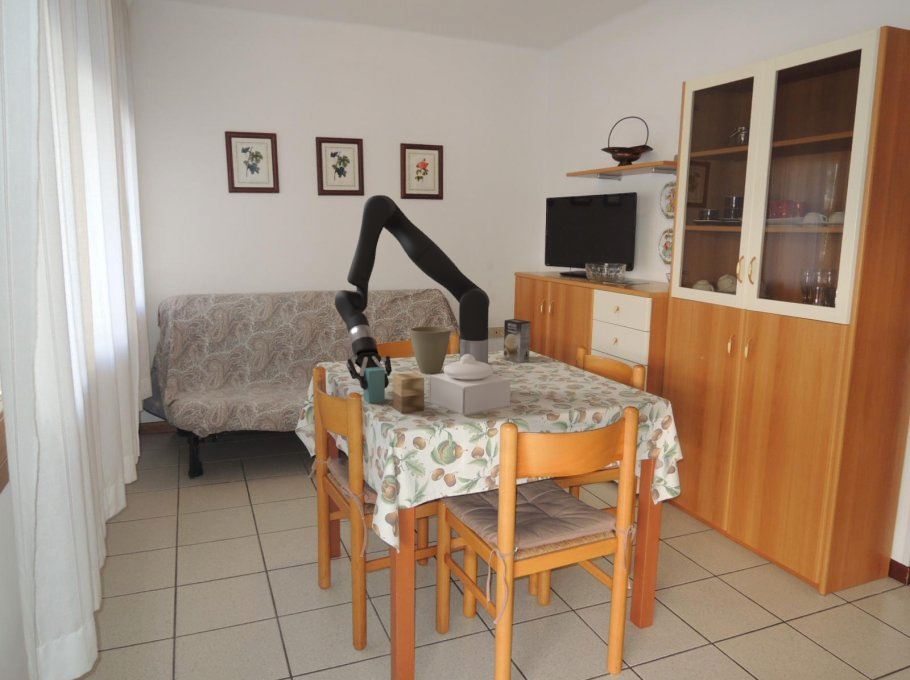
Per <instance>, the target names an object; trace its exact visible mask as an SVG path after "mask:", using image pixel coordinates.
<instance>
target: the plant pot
mask: <svg viewBox="0 0 910 680" xmlns="http://www.w3.org/2000/svg"><path fill="white" fill-rule="evenodd" d="M451 330H452V329H451V328H450V327H447V326H446V327H445V326H438V325H437V326H436V325H434V326H433V325H431V326H429V325H427V326H426V325H425V326H424V325H423V326H422V325H421V326H415V327H410V328H409V333H410V340H411V341H410V342H411V346H412V350H413V354H414V357H415V361H416V364H417V367H418V369H419V372H420V373H422V374H427V375H435V374H440V373H441V372H442V368H443V366H444V364H445V360H446V357H447V353H448V348H449V344H450V340H451V339H450V338H451V332H452V331H451Z"/></svg>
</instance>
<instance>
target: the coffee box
mask: <svg viewBox="0 0 910 680" xmlns="http://www.w3.org/2000/svg"><path fill="white" fill-rule="evenodd" d="M531 323H532V322H531V321H529V320H524V319H518V318H512V319H511V318H510V319H506V320H505V319H504V324H503V325H504V327H503V328H504V329H503V356H502V357H503V359H502V360H504V361H505V360H506V361H508V362H509V361H510V362H513V363H520V364H521V363H527V362H529V361H530V352H531V351H530V350H531V349H530V347H531V329H532V328H531Z"/></svg>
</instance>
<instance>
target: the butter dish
mask: <svg viewBox="0 0 910 680" xmlns="http://www.w3.org/2000/svg"><path fill="white" fill-rule="evenodd" d="M511 382H512V378H509V377H506V376H503V375H499V374H496V373H494V368H493V367H492V366H491V365H490V364H489V365H488V364H486V363H483V362H479V361H476V360H475V358H474V356H473V355H470V354H464V355H463V356H462V357H461V359H460V358H459V360H458V361H453V362H450V363H448V364H446V365H445V366H444V367H443V373H436V374H429V376H428V403H430V404H432V405H435V406H437V407H439V408H442V409H444V408H445V409H444V410H446V411H449V410H450V412H452V411H453V412H452V413H454V412H455V414H458V415H459V414H460V416H462V417H465V416H470V415H475V414H480V413H486V412H491V411H494V410H495V411H496V410H501V409H505V408H511Z"/></svg>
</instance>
